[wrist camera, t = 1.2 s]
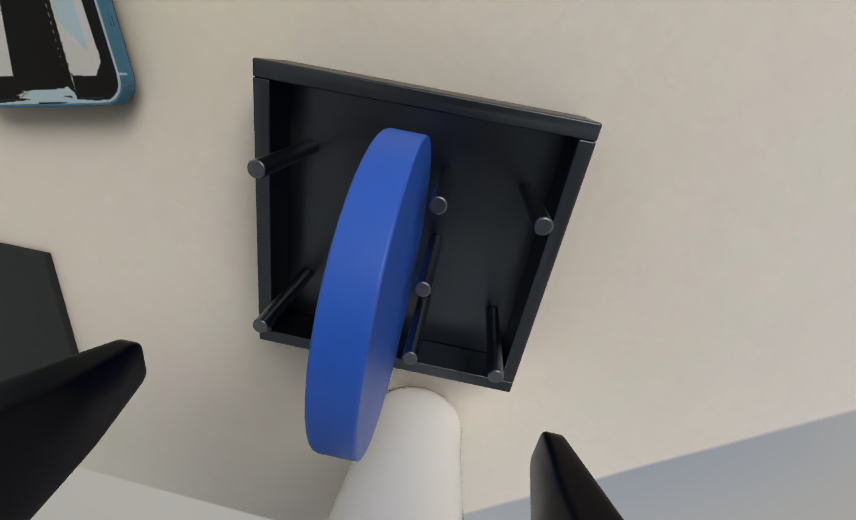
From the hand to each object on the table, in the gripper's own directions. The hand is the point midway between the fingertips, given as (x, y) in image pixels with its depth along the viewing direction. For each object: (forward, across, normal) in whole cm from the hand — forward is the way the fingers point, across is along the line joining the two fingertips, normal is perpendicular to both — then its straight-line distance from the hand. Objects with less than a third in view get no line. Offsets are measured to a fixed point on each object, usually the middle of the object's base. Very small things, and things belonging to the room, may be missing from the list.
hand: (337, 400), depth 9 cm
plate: (+10, 0, 0) cm, 10 cm away
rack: (+10, 0, 0) cm, 11 cm away
